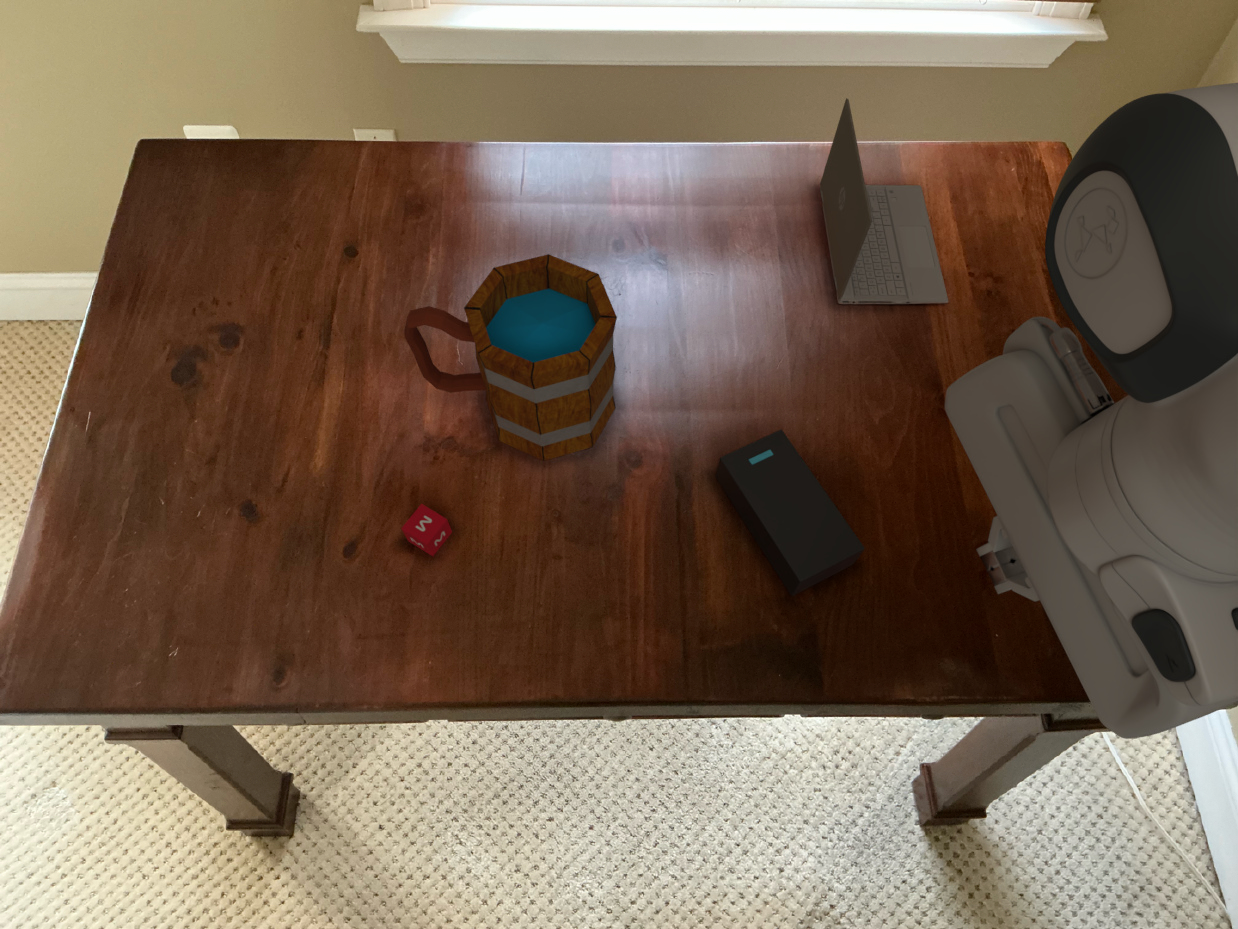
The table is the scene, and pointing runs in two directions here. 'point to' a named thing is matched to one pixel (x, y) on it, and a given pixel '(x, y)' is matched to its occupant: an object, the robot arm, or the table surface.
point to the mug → (533, 353)
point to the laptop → (876, 232)
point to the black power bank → (788, 512)
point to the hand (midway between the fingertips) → (996, 568)
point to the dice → (427, 529)
